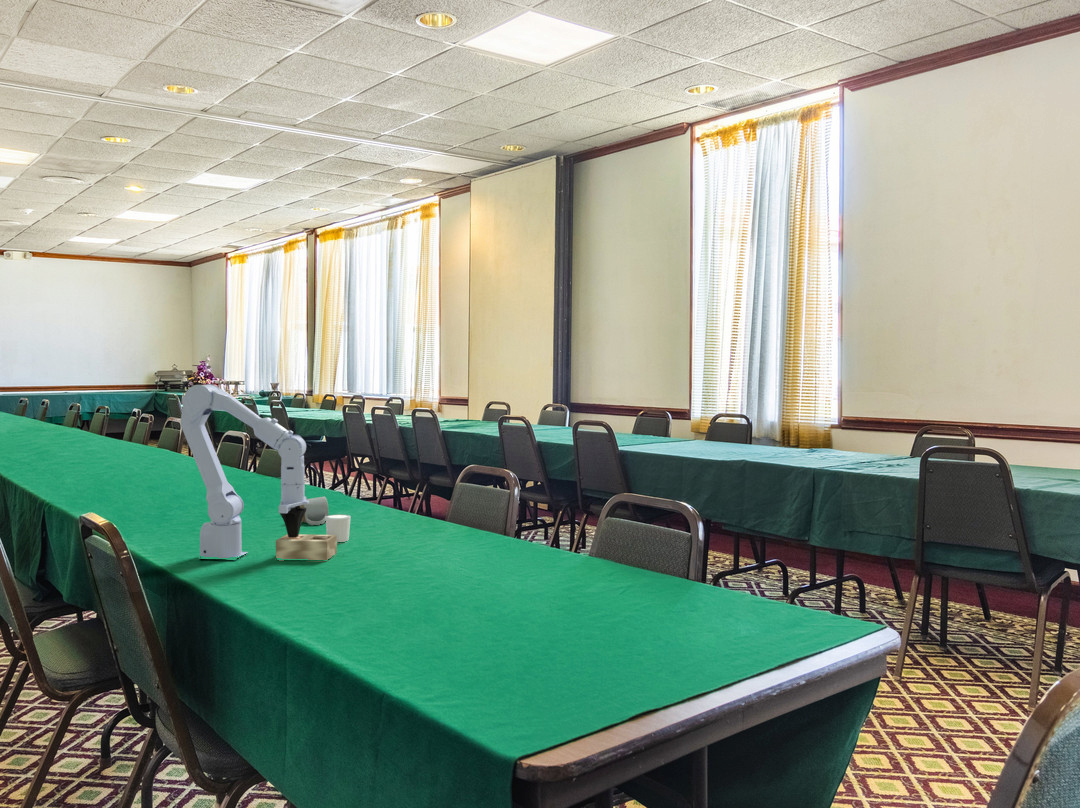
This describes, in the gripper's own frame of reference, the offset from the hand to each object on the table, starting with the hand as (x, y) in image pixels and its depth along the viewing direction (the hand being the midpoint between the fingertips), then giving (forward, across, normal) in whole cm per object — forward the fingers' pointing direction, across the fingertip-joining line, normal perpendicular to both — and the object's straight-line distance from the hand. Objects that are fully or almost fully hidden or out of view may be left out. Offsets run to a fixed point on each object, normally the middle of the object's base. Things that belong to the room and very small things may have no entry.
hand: (293, 536), depth 215 cm
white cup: (+5, +20, -6) cm, 21 cm away
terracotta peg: (+5, 0, 0) cm, 5 cm away
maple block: (+5, 0, -4) cm, 6 cm away
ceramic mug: (+5, +47, +10) cm, 48 cm away
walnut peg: (+5, 0, -7) cm, 8 cm away
